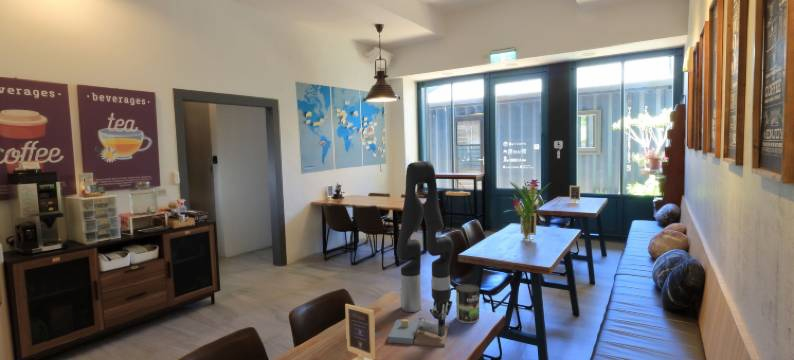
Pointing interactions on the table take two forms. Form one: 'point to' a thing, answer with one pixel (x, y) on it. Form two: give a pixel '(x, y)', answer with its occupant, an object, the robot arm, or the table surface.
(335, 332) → the table surface
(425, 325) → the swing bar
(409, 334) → the frame
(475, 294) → the coffee can
